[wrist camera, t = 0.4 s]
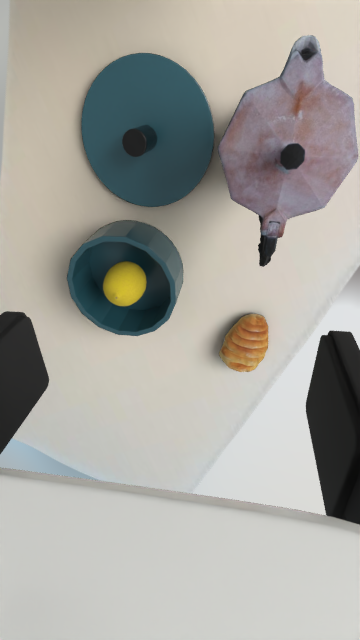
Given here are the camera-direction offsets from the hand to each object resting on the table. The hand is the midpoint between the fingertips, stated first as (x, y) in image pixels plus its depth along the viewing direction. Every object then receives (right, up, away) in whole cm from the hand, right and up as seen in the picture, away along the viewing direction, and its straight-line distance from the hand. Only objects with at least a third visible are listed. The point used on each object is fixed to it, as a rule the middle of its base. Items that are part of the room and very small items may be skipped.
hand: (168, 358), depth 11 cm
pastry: (+10, -2, +42) cm, 44 cm away
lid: (-3, +22, +28) cm, 36 cm away
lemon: (-6, +8, +39) cm, 40 cm away
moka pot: (+11, +21, +28) cm, 36 cm away
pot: (-6, +9, +39) cm, 40 cm away
